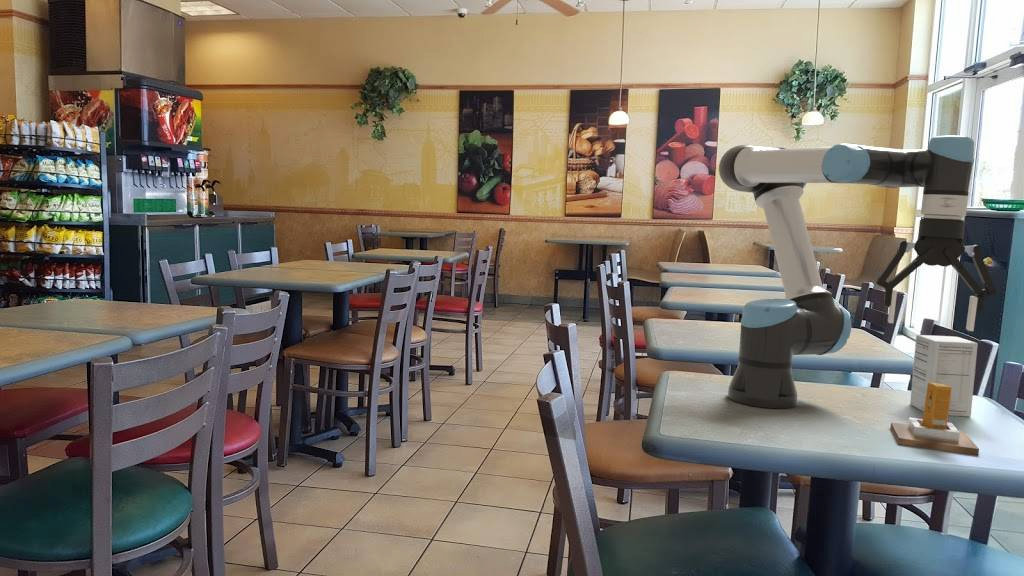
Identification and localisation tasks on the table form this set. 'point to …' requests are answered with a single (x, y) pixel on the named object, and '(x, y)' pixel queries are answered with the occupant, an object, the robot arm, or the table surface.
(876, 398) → the table surface
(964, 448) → the board
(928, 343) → the supplement box
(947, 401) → the supplement box
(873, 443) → the table surface
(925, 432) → the collar
